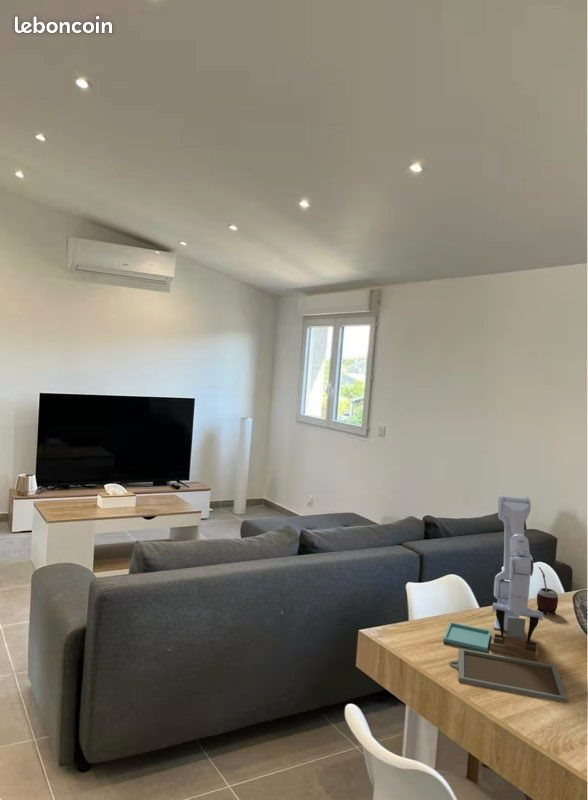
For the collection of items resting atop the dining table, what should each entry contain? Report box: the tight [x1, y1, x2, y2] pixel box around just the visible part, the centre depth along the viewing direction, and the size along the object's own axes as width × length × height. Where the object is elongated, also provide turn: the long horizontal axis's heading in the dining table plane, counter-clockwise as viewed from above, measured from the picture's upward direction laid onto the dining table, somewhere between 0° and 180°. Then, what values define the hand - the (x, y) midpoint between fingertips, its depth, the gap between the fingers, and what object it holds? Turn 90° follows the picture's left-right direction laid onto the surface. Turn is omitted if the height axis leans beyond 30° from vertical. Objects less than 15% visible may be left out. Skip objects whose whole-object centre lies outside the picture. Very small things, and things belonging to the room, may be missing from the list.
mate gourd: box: [536, 566, 559, 616], centre depth 216 cm, size 8×8×15 cm
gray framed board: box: [448, 647, 568, 704], centre depth 167 cm, size 19×2×30 cm
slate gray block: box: [506, 616, 526, 640], centre depth 185 cm, size 2×5×9 cm, turn 67°
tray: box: [442, 621, 492, 653], centre depth 188 cm, size 14×13×2 cm
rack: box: [489, 632, 540, 662], centre depth 183 cm, size 8×14×2 cm, turn 67°
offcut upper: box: [504, 635, 527, 650], centre depth 181 cm, size 3×6×2 cm, turn 68°
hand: (515, 637), depth 185 cm, fingers open, 7 cm apart
